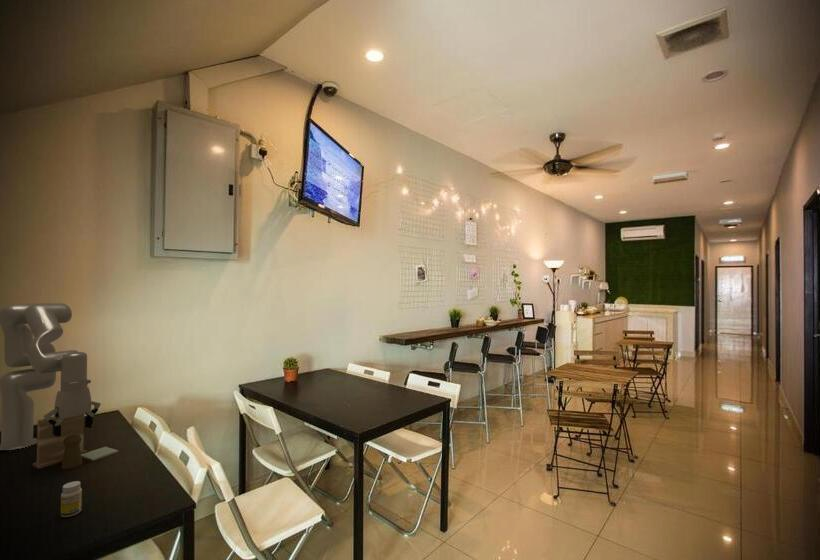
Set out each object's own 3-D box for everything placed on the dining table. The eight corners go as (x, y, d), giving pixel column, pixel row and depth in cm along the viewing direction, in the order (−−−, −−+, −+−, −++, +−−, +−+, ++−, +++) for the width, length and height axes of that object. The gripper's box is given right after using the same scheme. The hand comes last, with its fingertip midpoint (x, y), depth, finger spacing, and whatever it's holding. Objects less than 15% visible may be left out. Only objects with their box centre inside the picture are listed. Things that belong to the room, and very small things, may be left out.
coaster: (79, 456, 154) (79, 455, 154) (105, 448, 162) (105, 446, 162) (92, 460, 150) (92, 459, 150) (118, 451, 158) (118, 450, 158)
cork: (69, 469, 143) (70, 439, 143) (56, 468, 144) (57, 438, 144) (86, 462, 148) (87, 433, 149) (73, 461, 150) (74, 432, 150)
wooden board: (32, 466, 145) (33, 420, 146) (80, 451, 159) (81, 409, 159) (39, 468, 143) (40, 422, 144) (87, 453, 157) (88, 410, 157)
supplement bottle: (69, 508, 117) (69, 480, 118) (85, 508, 118) (86, 479, 118) (56, 518, 113) (56, 488, 113) (73, 517, 113) (74, 488, 113)
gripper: (94, 380, 156) (94, 423, 156) (39, 390, 140) (38, 438, 140) (105, 381, 153) (105, 425, 152) (50, 392, 137) (49, 441, 137)
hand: (73, 431), depth 146 cm, fingers open, 9 cm apart
